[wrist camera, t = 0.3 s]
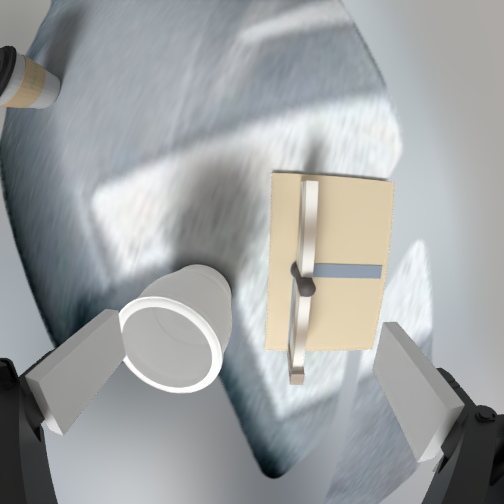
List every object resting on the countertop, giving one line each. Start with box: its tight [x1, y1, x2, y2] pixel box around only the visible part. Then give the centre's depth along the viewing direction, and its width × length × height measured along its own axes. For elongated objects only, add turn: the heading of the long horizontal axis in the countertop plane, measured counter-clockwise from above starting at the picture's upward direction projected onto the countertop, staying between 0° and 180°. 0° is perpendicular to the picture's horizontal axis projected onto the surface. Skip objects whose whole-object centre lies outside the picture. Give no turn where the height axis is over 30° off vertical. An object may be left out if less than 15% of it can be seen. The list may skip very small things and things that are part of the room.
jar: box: [119, 264, 232, 393], centre depth 31 cm, size 11×10×15 cm
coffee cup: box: [0, 46, 60, 109], centre depth 26 cm, size 9×9×15 cm
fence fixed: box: [287, 262, 311, 385], centre depth 34 cm, size 14×2×7 cm, turn 179°
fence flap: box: [294, 181, 318, 297], centre depth 32 cm, size 12×2×7 cm, turn 179°
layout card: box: [265, 173, 394, 351], centre depth 37 cm, size 24×16×1 cm, turn 179°
